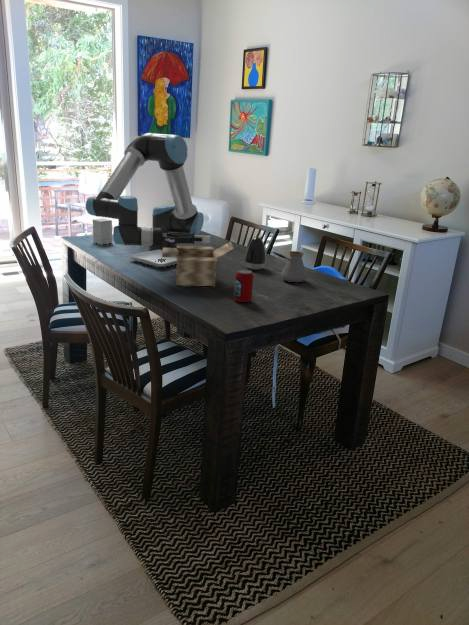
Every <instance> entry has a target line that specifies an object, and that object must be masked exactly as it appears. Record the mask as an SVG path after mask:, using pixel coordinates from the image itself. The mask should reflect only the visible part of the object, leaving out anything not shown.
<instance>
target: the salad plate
mask: <svg viewBox="0 0 469 625" xmlns="http://www.w3.org/2000/svg"><path fill="white" fill-rule="evenodd" d="M162 251H163V250H154V251H149V250H148V251H143V252H140V253H135V254H131V255H129V258H130V259H132V260H133V261H135V262H138V263H140V262H142V263H141V264H143V263H146V264H145V265H147V264H149V265H148V266H150V265H153V266H152V267H154V266H156V267H155V268H158V267H164V268H167V267H166V266H169V267H171V265H173V266H176V265H175V264H177V258H173V257H162ZM161 258H162V259H166V260H165V262H164V261H163V262H162V263H161V262H160V261H159V262H158V259H161ZM155 261H156V262H155Z"/></svg>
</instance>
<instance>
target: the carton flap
mask: <svg viewBox="0 0 469 625" xmlns="http://www.w3.org/2000/svg"><path fill="white" fill-rule="evenodd" d="M234 251H235V248H234V246H233V244H232V241H229V242H227V243H225V244H223V245H222V246H220V247H218V248H216V249H214V252H215V256H216V258H217V260H219V259H220V258H222V257H224V256H226V255H228V254H230V253H232V252H234Z"/></svg>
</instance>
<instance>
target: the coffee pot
mask: <svg viewBox="0 0 469 625" xmlns="http://www.w3.org/2000/svg"><path fill="white" fill-rule="evenodd" d="M288 253H289V257H287V256H285V255H283V254H281V253H278V252H277V251H273V252H271V254H274V255H271V257H272V258H273V257H275V256H278V258H282V259H283V260H287V262H286V264H285V265H284V268H283V269H282V271H281V273H280V274H281V277H282V279H284V281H285V280H286V281H288V282H287V283H289V282H301V283H302V282H304V281H305V280H306V279H307V277H308V275H307V272H306V268H305V266H304V262H303V256H304V252H302V251H297V250H296V251H294V250H293V251H292V250H291V251H289V252H288ZM286 281H285V282H286Z"/></svg>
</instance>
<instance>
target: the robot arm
mask: <svg viewBox="0 0 469 625" xmlns="http://www.w3.org/2000/svg"><path fill="white" fill-rule="evenodd" d="M123 154H124V156H123V158H122V159H121V160H120V161H119V163H118V165H117V166H116V167H115V169H114V171H113V172H112V174H111V175H110V176H109V178H108V179H107V181H106V182H105V184H104V186H103V187H102V188H101V190H100V191H99V193H98V194H97V196H90V197H88V198H87V199H86V202H85V210H86V212H87V214H88V215H91V216H95V217H101V218H106V219H108V218H109V219H112V220H113V219H114V220H118V224H117V225H115V226H114V227H113V229H112V241H113V243H114V244H115V245H119V246H120V245H121V246H122V245H123V246H141V247H142V246H143V247H144V248H147V247H148V251H149V250H150V251H154V250H163V248H177V246H179V245H178V244H192V245H195V243H201V244H203V243H204V244H211V235H201V234H200V233H201V231H202V229H203V227H204V223H205V222H204V220H205V219H204V218H205V217H204V212H201V211H198V208H197V205H196V204H194V203H193V201H192V198H191V193H190V188H189V185H188V181H187V178H186V177H187V176H186V173H185V170H184V165H185V163H186V161H187V158H188V145H187V142H186V140H185V138H183V137H182V136H181V135H178V134H173V133H169V134H168V133H167V134H166V133H154V132H146V133H142V134H141V135H140V136H138V137H136V138H135V139H133V140H132V141H131V142H130V143H129V144H128V145H127V147H126V149H125V150H124V153H123ZM148 161H153V162H158V166H159V168H160V169H161V170H163V171H164V173H165V177H166V181H167V184H168V187H169V191H170V195H171V198H172V201H173V205H172V204H168V205H158V206H155V207H154V208H153V209H152V215H151V216H152V225H151V226H152V227H150V226H147V227H146V226H138V216H139V215H138V214H139V213H138V212H139V208H138V207H139V206H138V205H139V204H138V199H137V197H136V196H132V195H122V194H123V192H124V191H125V189H126V188H127V186H128V185H129V183H130V182H131V180H132V178H133V177H134V176H135V174H136V172H137V170H138V169H139V168H140V167H142V166H144V164H146V162H148Z"/></svg>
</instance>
